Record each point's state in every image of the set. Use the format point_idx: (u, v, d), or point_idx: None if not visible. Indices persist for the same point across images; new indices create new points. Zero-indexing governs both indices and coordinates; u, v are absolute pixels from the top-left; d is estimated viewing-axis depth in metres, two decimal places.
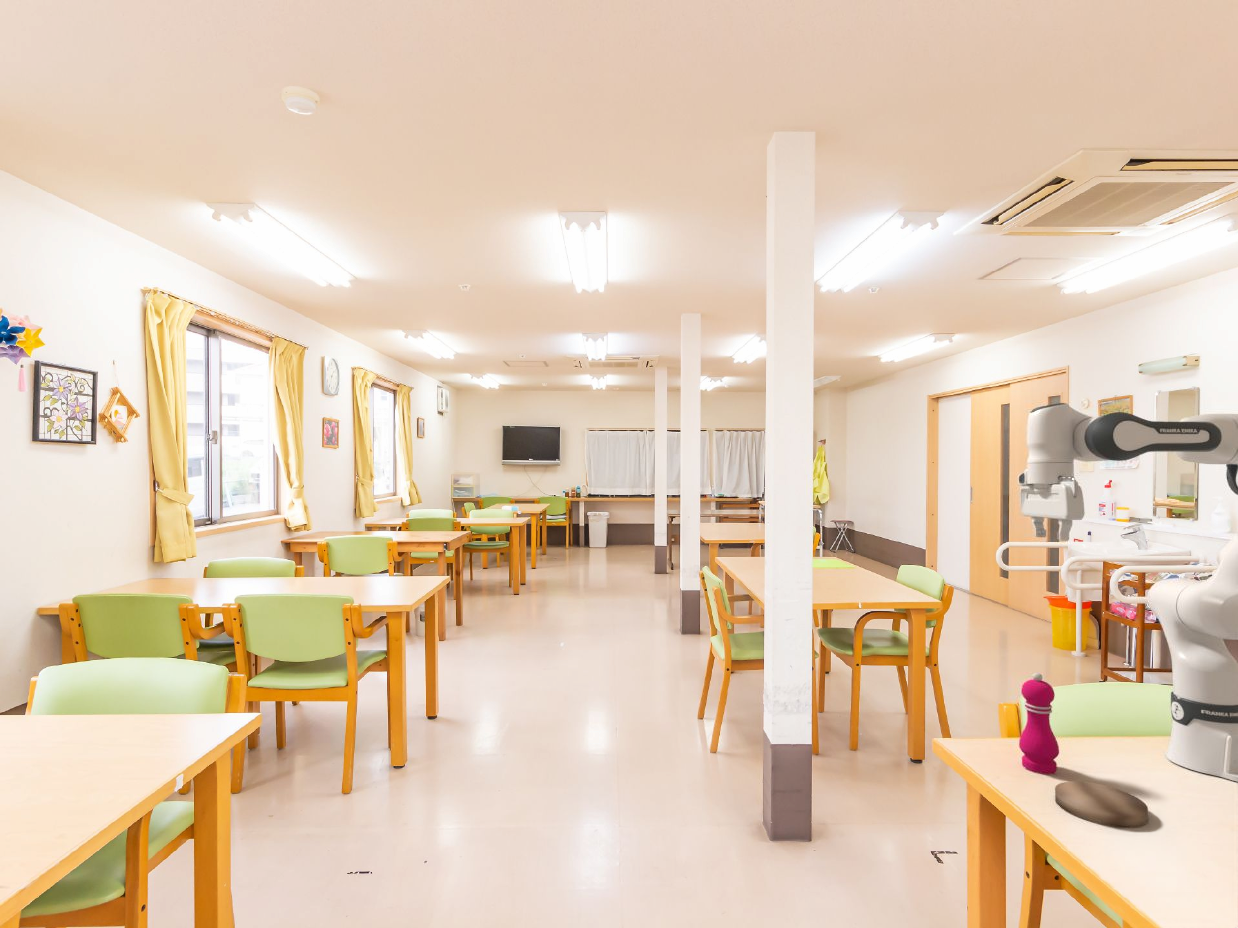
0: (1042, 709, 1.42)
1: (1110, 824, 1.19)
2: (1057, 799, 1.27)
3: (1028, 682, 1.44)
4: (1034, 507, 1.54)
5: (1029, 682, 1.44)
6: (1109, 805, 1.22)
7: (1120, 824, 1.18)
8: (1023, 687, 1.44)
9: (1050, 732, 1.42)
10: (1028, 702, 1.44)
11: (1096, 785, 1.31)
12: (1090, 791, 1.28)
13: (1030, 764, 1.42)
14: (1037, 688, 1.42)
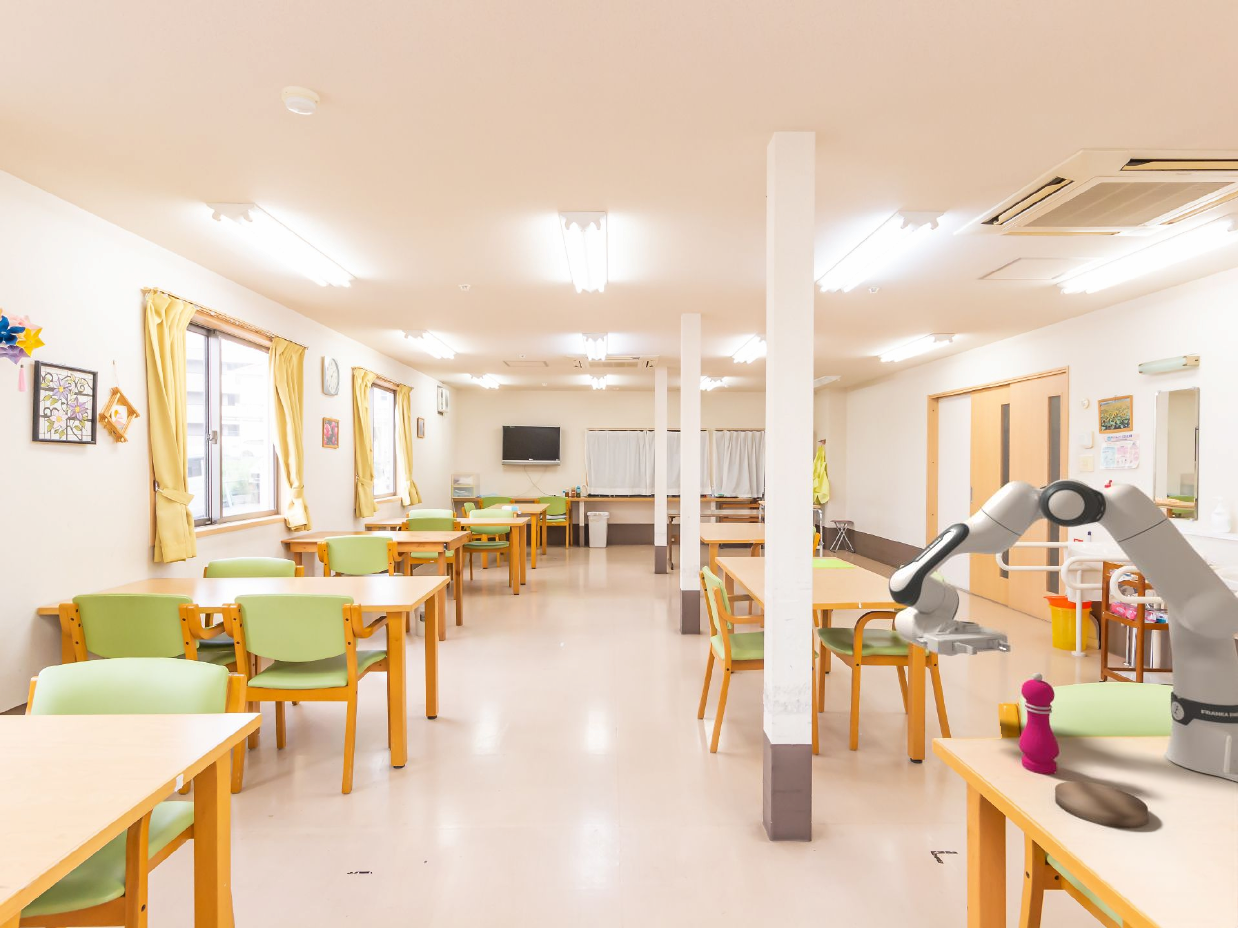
0: (1042, 709, 1.42)
1: (1110, 824, 1.19)
2: (1057, 799, 1.27)
3: (1028, 682, 1.44)
4: None
5: (1029, 682, 1.44)
6: (1109, 805, 1.22)
7: (1120, 824, 1.18)
8: (1023, 687, 1.44)
9: (1050, 732, 1.42)
10: (1028, 702, 1.44)
11: (1096, 785, 1.31)
12: (1090, 791, 1.28)
13: (1030, 764, 1.42)
14: (1037, 688, 1.42)
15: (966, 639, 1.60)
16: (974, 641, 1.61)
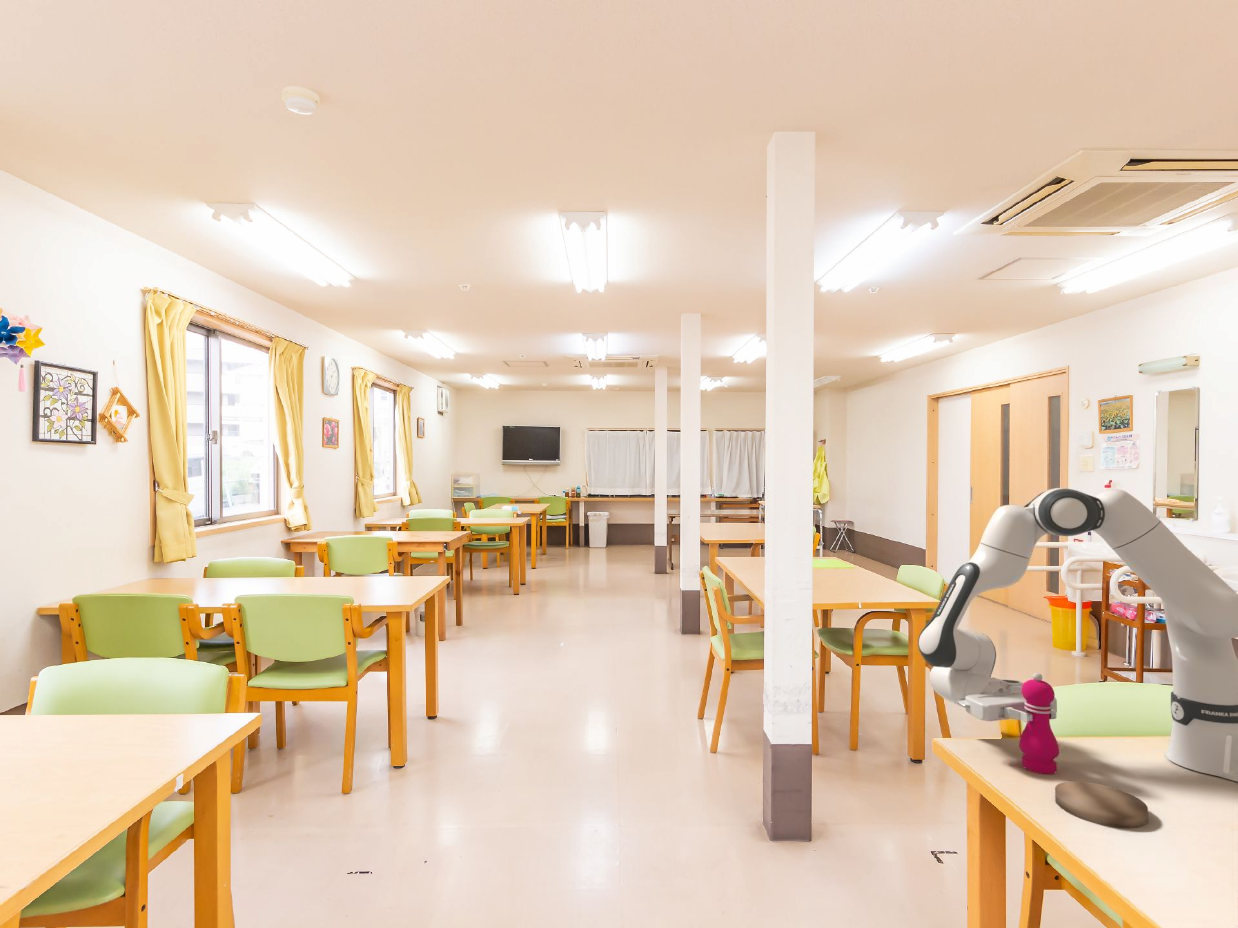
0: (1042, 709, 1.42)
1: (1110, 824, 1.19)
2: (1057, 799, 1.27)
3: (1028, 682, 1.44)
4: None
5: (1029, 682, 1.44)
6: (1109, 805, 1.22)
7: (1120, 824, 1.18)
8: (1023, 687, 1.44)
9: (1050, 732, 1.42)
10: (1028, 702, 1.44)
11: (1096, 785, 1.31)
12: (1090, 791, 1.28)
13: (1030, 764, 1.42)
14: (1037, 688, 1.42)
15: (1013, 703, 1.47)
16: (1021, 705, 1.48)
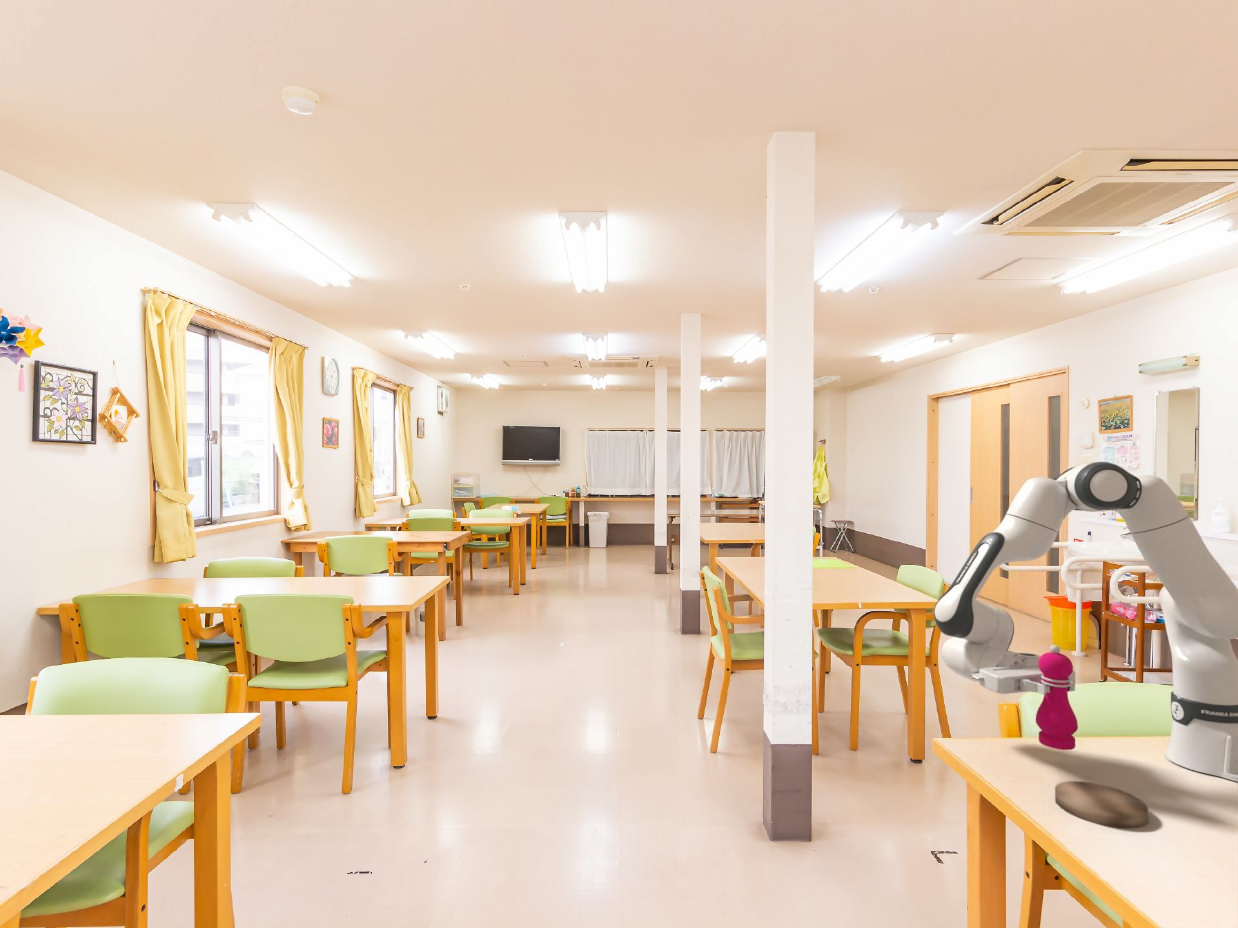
0: (1060, 682, 1.36)
1: (1110, 824, 1.19)
2: (1057, 799, 1.27)
3: (1045, 655, 1.38)
4: None
5: (1046, 655, 1.38)
6: (1109, 805, 1.22)
7: (1120, 824, 1.18)
8: (1040, 660, 1.39)
9: (1068, 706, 1.36)
10: (1045, 675, 1.38)
11: (1096, 785, 1.31)
12: (1090, 791, 1.28)
13: (1047, 740, 1.36)
14: (1054, 661, 1.36)
15: (1029, 676, 1.41)
16: (1038, 678, 1.42)
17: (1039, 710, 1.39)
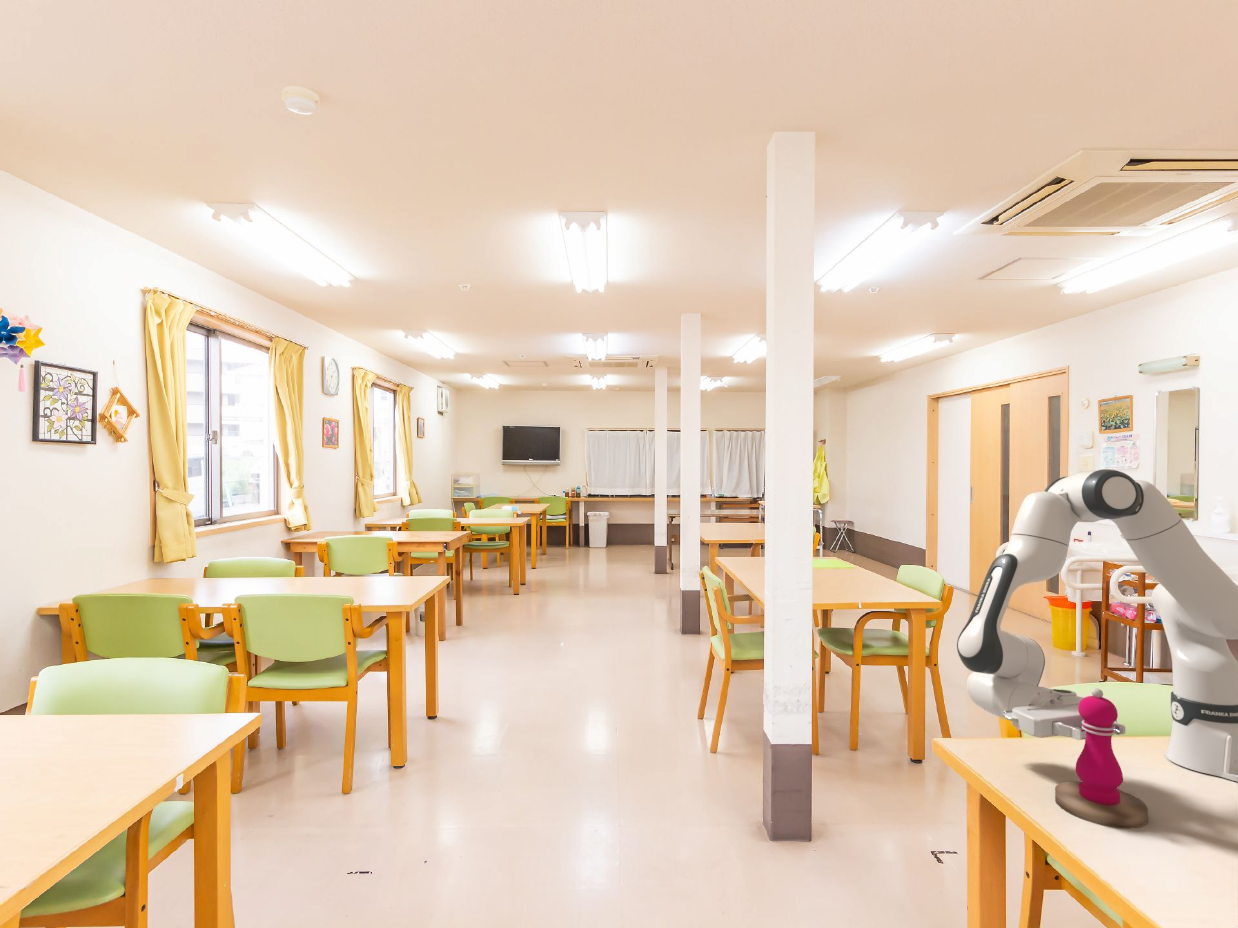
0: (1104, 730, 1.24)
1: (1110, 824, 1.19)
2: (1057, 799, 1.27)
3: (1086, 699, 1.26)
4: None
5: (1088, 699, 1.26)
6: (1109, 805, 1.22)
7: (1120, 824, 1.18)
8: (1081, 705, 1.27)
9: (1113, 757, 1.24)
10: (1087, 722, 1.26)
11: None
12: None
13: (1089, 793, 1.24)
14: (1097, 706, 1.24)
15: (1068, 717, 1.29)
16: (1077, 719, 1.30)
17: (1080, 760, 1.26)
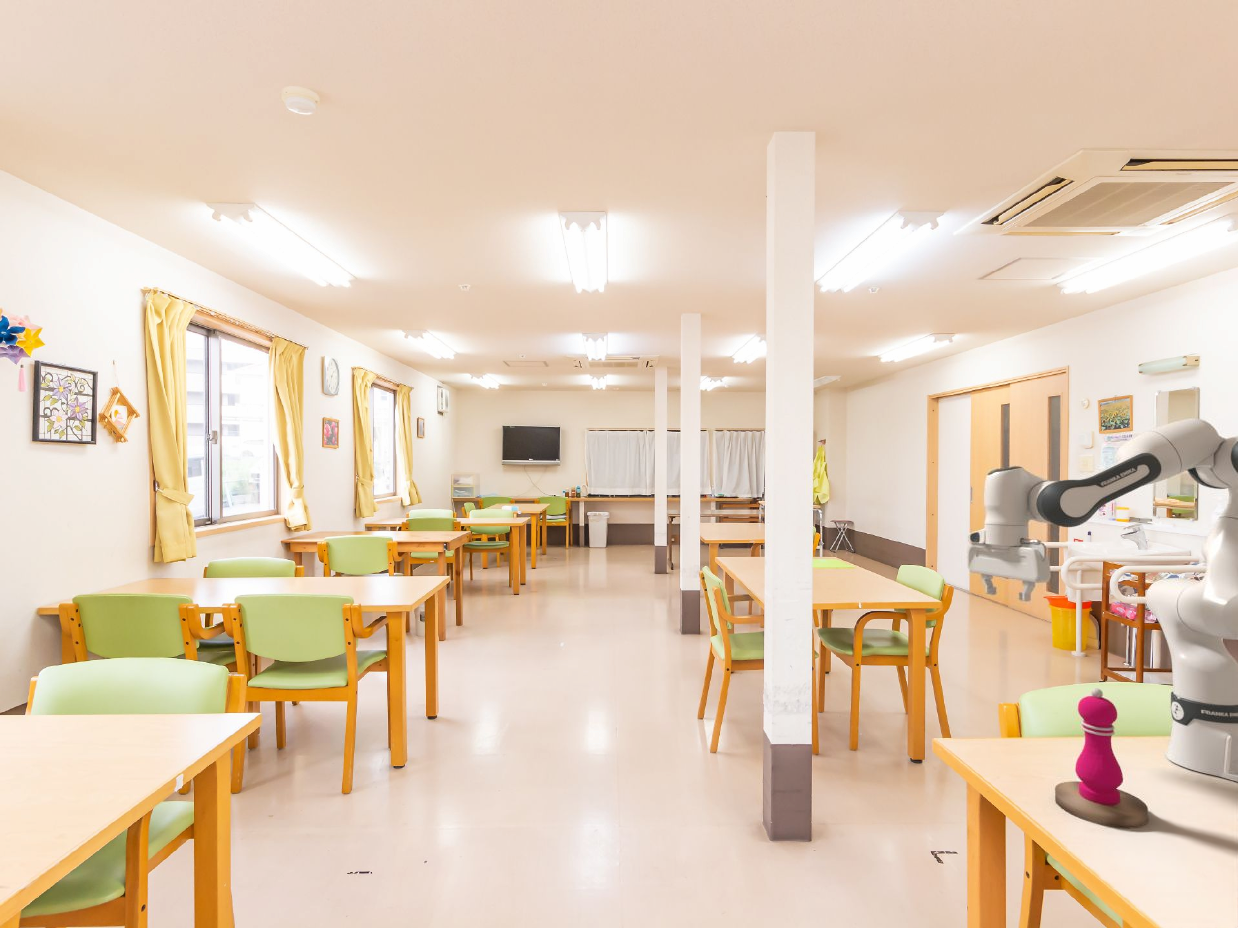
0: (1104, 730, 1.24)
1: (1110, 824, 1.19)
2: (1057, 799, 1.27)
3: (1086, 699, 1.26)
4: (988, 566, 1.59)
5: (1087, 699, 1.26)
6: (1109, 805, 1.22)
7: (1120, 824, 1.18)
8: (1080, 705, 1.27)
9: (1112, 757, 1.24)
10: (1086, 722, 1.26)
11: None
12: None
13: (1089, 793, 1.24)
14: (1097, 706, 1.24)
15: None
16: None
17: (1080, 760, 1.26)
